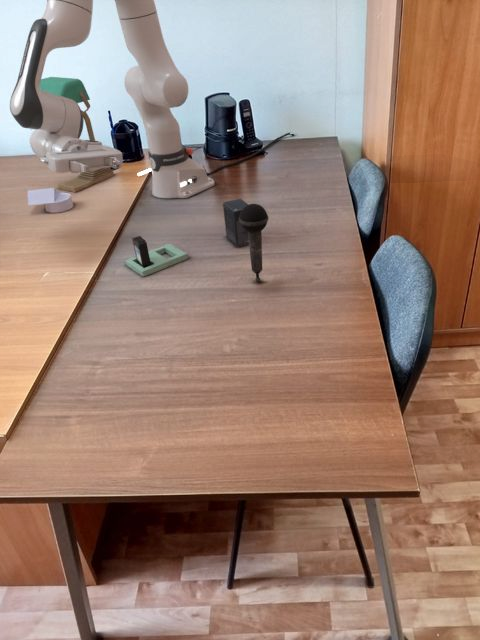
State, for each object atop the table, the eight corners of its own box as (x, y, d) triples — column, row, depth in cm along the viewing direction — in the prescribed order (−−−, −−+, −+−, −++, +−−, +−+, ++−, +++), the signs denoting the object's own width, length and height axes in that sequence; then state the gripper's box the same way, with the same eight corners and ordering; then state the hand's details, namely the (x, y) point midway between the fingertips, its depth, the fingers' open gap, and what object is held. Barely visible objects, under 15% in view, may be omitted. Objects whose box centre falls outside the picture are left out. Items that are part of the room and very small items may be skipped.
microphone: (243, 276, 134) (236, 200, 122) (270, 274, 135) (266, 197, 123) (245, 290, 129) (238, 212, 117) (273, 287, 129) (269, 209, 117)
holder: (170, 248, 150) (169, 243, 149) (188, 258, 144) (187, 253, 143) (126, 265, 143) (125, 260, 142) (143, 276, 137) (142, 271, 136)
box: (255, 242, 150) (252, 206, 143) (236, 247, 148) (233, 211, 141) (243, 232, 155) (240, 197, 149) (225, 237, 153) (222, 202, 147)
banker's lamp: (121, 176, 201) (98, 74, 180) (79, 195, 187) (49, 86, 166) (92, 170, 208) (67, 71, 187) (49, 188, 194) (18, 83, 173)
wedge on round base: (31, 215, 175) (71, 211, 176) (24, 195, 171) (65, 191, 172) (36, 204, 182) (75, 201, 183) (30, 185, 178) (69, 181, 179)
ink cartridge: (137, 264, 143) (131, 237, 138) (145, 262, 144) (139, 234, 139) (143, 271, 139) (137, 243, 134) (151, 269, 140) (146, 241, 135)
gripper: (34, 145, 134) (65, 157, 127) (103, 140, 148) (134, 151, 141) (37, 171, 137) (67, 184, 130) (104, 163, 151) (135, 175, 144)
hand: (103, 167), depth 135 cm, fingers open, 8 cm apart
